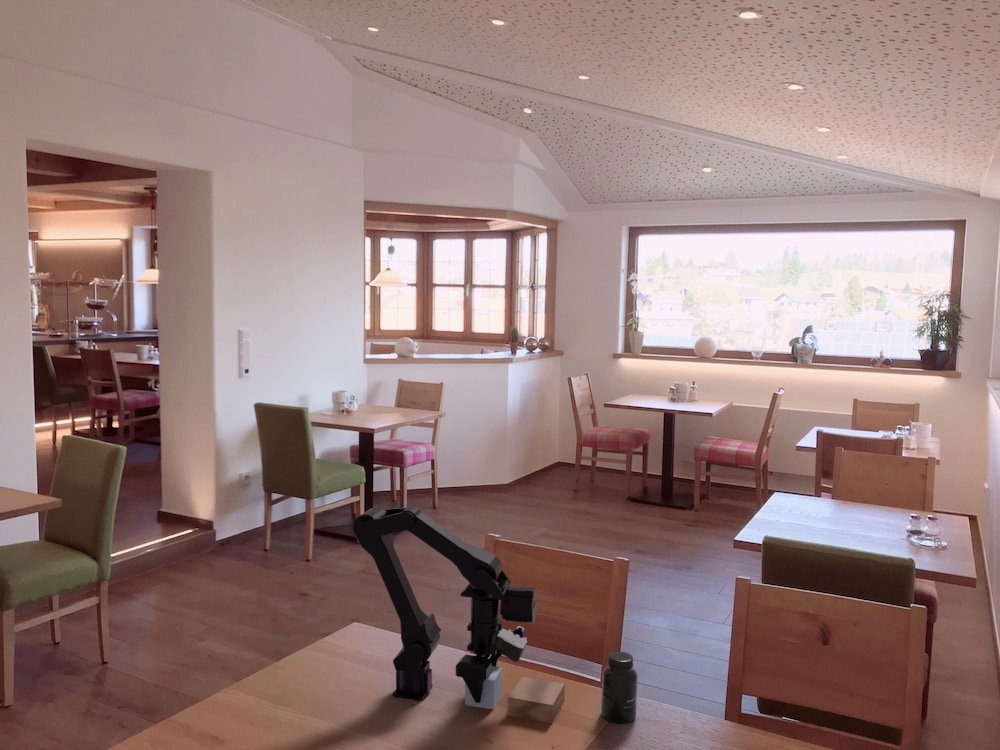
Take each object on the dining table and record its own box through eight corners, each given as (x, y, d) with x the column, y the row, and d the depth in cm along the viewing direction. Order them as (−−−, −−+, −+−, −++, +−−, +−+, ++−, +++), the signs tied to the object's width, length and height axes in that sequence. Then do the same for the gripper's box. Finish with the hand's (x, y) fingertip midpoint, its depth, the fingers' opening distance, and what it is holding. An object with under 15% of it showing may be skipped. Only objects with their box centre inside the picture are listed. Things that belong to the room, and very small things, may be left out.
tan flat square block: (508, 716, 156) (508, 697, 156) (521, 695, 165) (522, 676, 164) (552, 725, 153) (552, 705, 153) (564, 703, 162) (564, 684, 161)
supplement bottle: (635, 726, 153) (637, 665, 151) (599, 722, 154) (601, 662, 153) (636, 708, 159) (638, 650, 158) (602, 704, 161) (603, 647, 160)
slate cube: (465, 705, 160) (465, 676, 159) (474, 691, 166) (474, 663, 165) (493, 709, 158) (494, 680, 158) (502, 695, 164) (502, 667, 164)
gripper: (511, 641, 149) (510, 721, 151) (534, 605, 167) (533, 677, 169) (454, 634, 152) (454, 712, 154) (483, 599, 170) (482, 670, 172)
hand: (483, 692), depth 162 cm, fingers open, 8 cm apart
